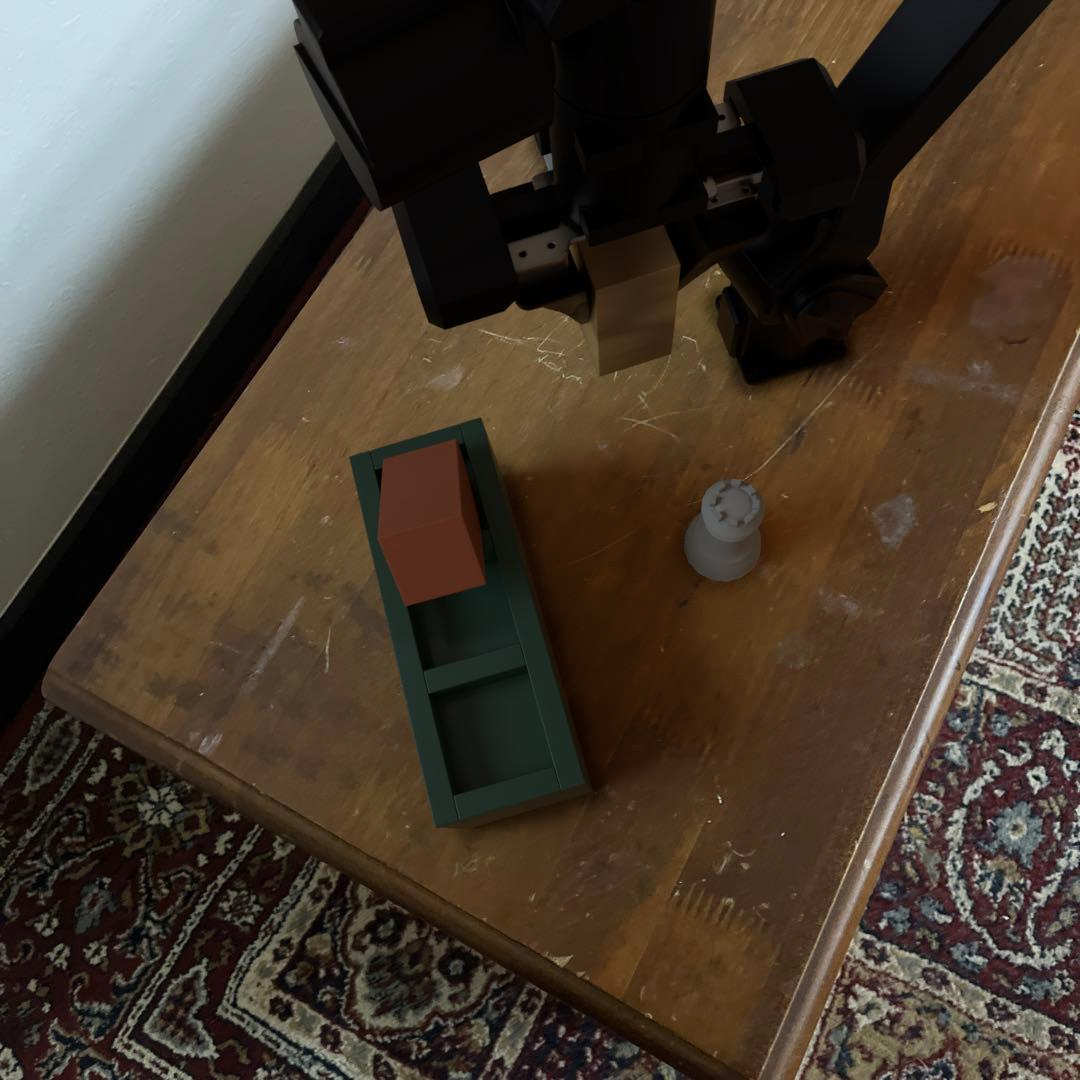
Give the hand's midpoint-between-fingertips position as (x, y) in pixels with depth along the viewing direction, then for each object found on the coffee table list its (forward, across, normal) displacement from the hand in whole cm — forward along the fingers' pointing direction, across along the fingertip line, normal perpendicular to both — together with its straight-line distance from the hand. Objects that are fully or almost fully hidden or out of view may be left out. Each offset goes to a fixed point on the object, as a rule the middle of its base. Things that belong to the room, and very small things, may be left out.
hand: (623, 302), depth 47 cm
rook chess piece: (+13, -3, +10) cm, 17 cm away
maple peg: (-1, 0, 0) cm, 1 cm away
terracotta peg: (+3, +12, +7) cm, 14 cm away
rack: (+13, +12, +11) cm, 21 cm away
